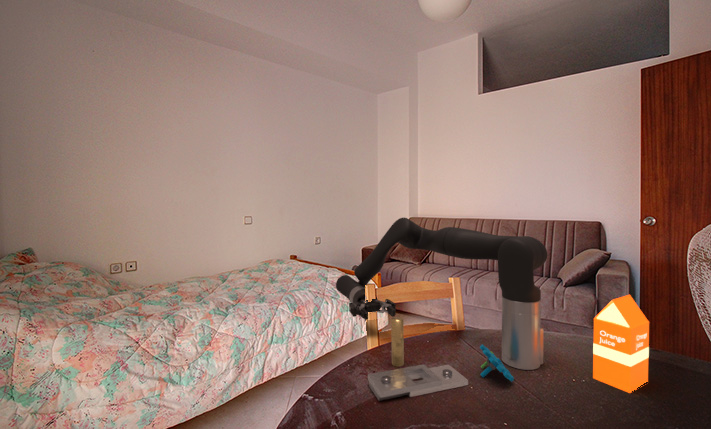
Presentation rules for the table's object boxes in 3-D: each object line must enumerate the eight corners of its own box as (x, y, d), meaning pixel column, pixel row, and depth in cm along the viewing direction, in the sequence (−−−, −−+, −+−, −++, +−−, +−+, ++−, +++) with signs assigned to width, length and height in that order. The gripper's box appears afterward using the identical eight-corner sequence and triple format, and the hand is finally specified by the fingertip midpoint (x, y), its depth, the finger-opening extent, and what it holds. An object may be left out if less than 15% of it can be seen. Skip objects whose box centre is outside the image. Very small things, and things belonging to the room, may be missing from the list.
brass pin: (400, 360, 93) (400, 316, 92) (405, 365, 90) (405, 320, 89) (389, 361, 92) (389, 317, 91) (394, 367, 89) (394, 321, 88)
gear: (520, 384, 77) (486, 349, 79) (501, 401, 77) (467, 366, 80) (510, 367, 87) (480, 337, 90) (493, 382, 88) (464, 352, 90)
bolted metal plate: (448, 369, 87) (448, 357, 87) (468, 385, 80) (468, 372, 80) (367, 384, 81) (367, 371, 80) (380, 403, 73) (380, 389, 73)
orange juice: (648, 382, 80) (650, 298, 79) (630, 393, 75) (632, 304, 75) (610, 368, 86) (611, 290, 86) (591, 377, 82) (593, 295, 81)
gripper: (342, 290, 114) (357, 305, 99) (382, 286, 119) (402, 300, 103) (342, 312, 115) (357, 330, 99) (382, 308, 119) (402, 324, 104)
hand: (380, 315), depth 101 cm, fingers open, 8 cm apart
